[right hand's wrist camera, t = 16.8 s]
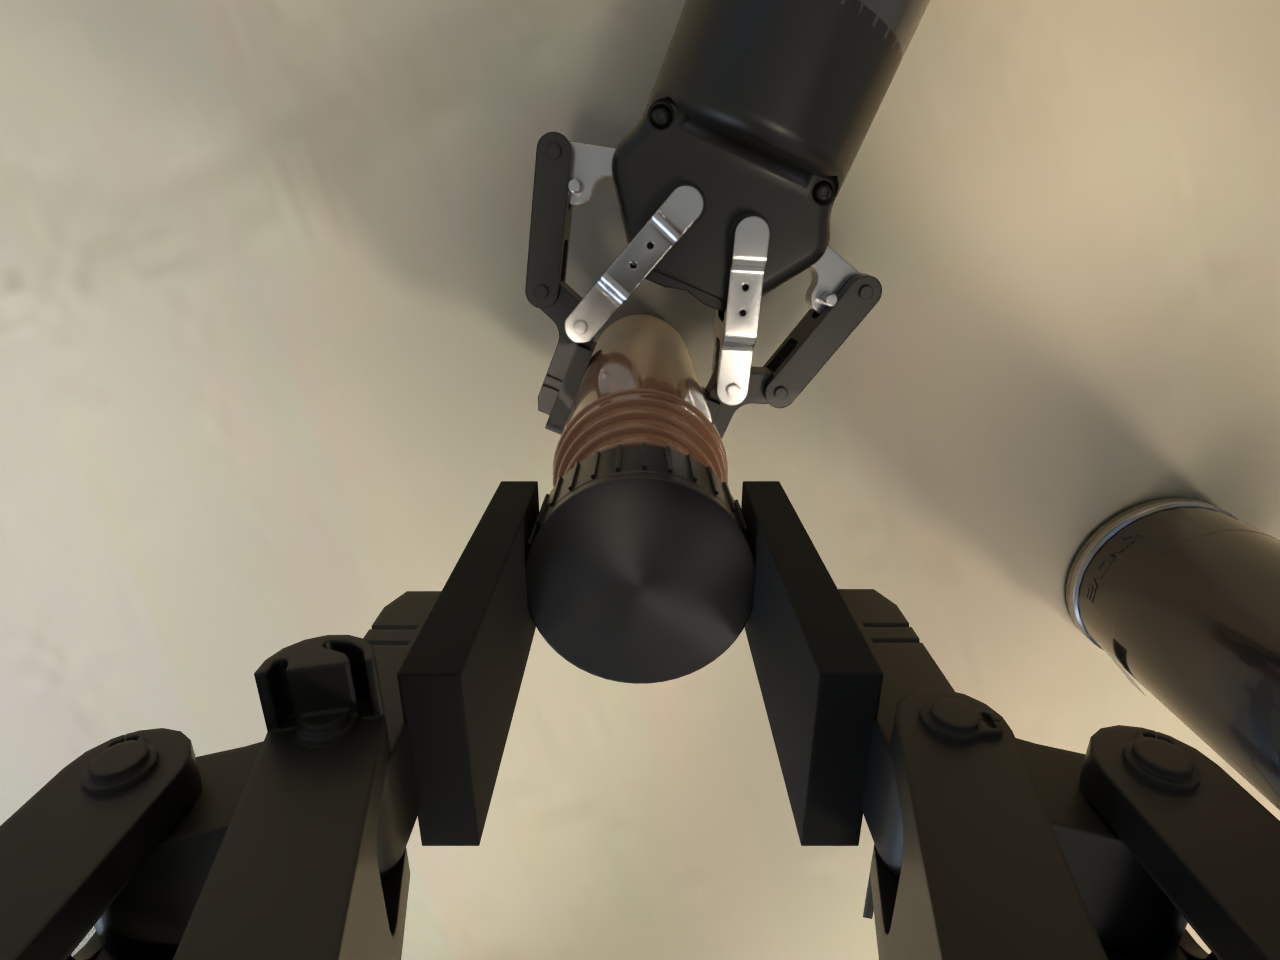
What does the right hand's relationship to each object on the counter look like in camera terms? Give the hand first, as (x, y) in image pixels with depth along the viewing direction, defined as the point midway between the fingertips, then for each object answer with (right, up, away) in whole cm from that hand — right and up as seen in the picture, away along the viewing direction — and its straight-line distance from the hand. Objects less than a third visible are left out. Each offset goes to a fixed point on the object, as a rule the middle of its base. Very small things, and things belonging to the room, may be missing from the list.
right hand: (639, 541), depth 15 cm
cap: (0, -1, -2) cm, 2 cm away
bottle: (0, +7, +19) cm, 20 cm away
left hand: (-1, +3, +14) cm, 14 cm away
